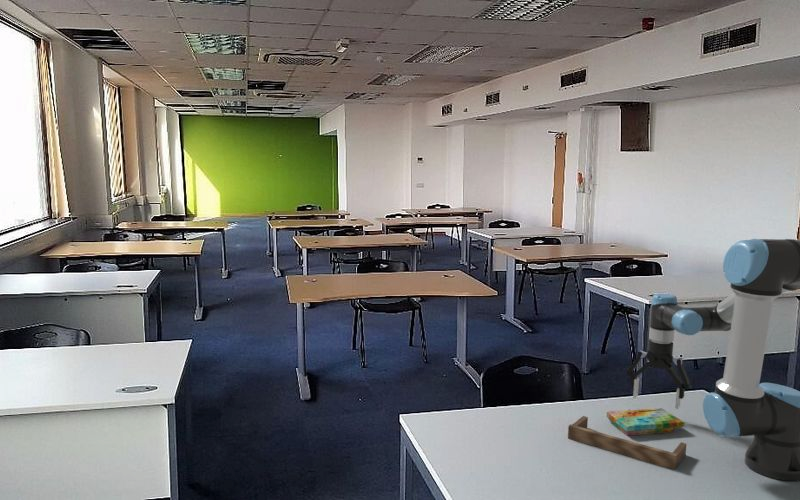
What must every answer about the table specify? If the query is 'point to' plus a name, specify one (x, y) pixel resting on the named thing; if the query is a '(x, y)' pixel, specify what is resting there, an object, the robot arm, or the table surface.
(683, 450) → the frame
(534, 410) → the table surface
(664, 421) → the puzzle game
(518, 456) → the table surface
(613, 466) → the table surface
